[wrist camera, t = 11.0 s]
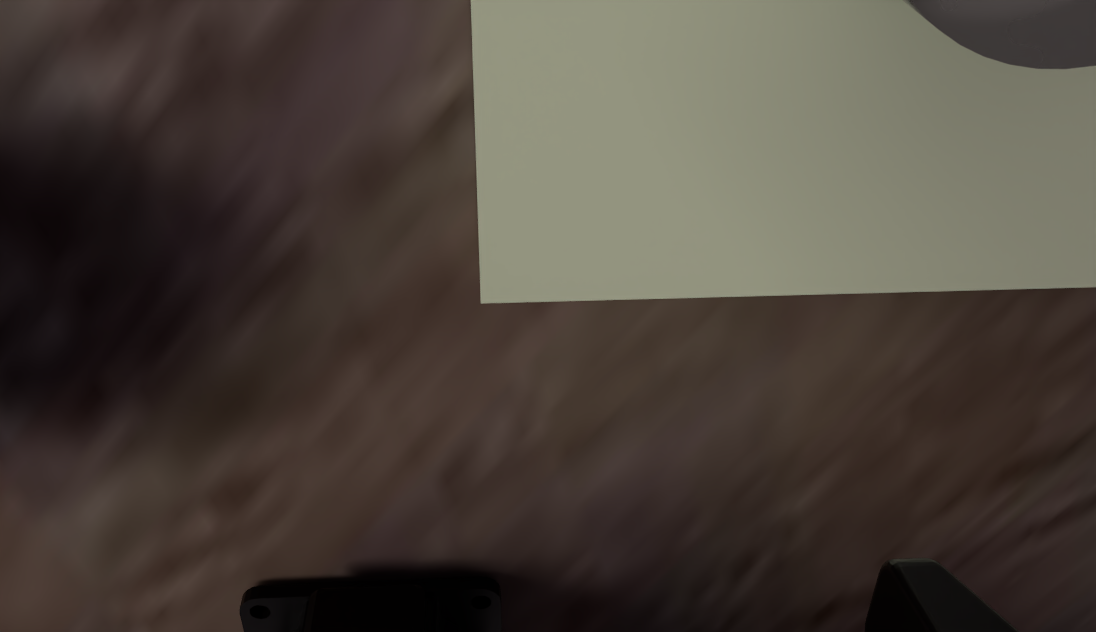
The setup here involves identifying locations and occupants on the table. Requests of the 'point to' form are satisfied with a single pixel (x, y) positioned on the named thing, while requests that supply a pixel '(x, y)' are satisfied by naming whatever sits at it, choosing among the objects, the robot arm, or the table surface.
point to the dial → (1019, 29)
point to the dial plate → (769, 154)
